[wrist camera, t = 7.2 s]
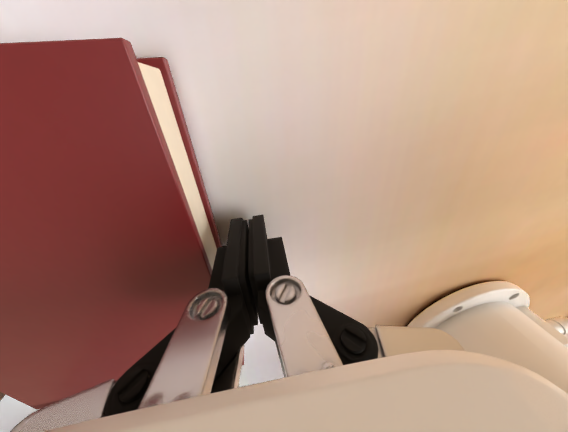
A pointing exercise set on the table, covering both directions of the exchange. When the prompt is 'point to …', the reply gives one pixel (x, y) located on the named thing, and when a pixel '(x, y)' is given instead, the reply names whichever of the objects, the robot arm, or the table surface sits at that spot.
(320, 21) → the table surface
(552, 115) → the table surface
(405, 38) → the table surface
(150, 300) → the book
